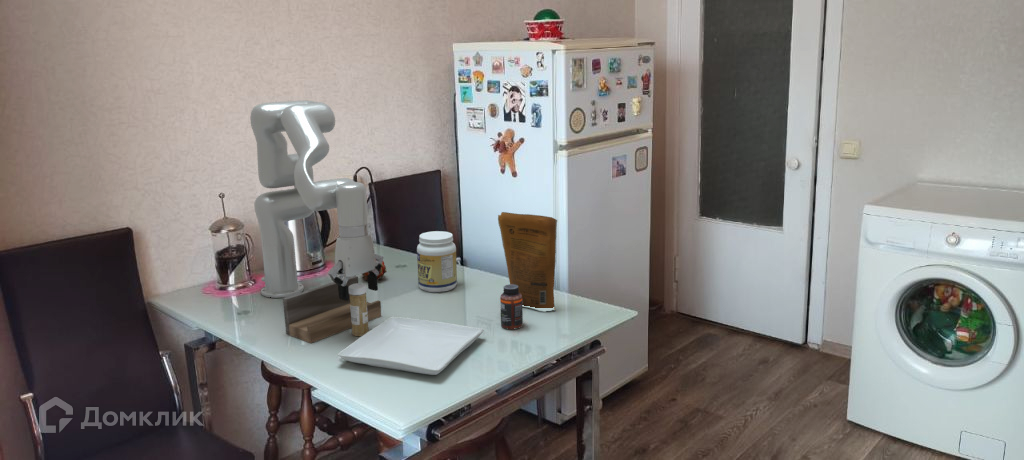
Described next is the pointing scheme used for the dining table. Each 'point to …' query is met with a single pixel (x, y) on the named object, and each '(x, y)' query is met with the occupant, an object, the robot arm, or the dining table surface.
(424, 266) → the supplement tub
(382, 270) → the dragon fruit
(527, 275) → the pancake mix bag
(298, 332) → the spice rack
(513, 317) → the supplement bottle
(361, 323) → the sprinkles bottle
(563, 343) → the dining table surface
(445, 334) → the square plate
